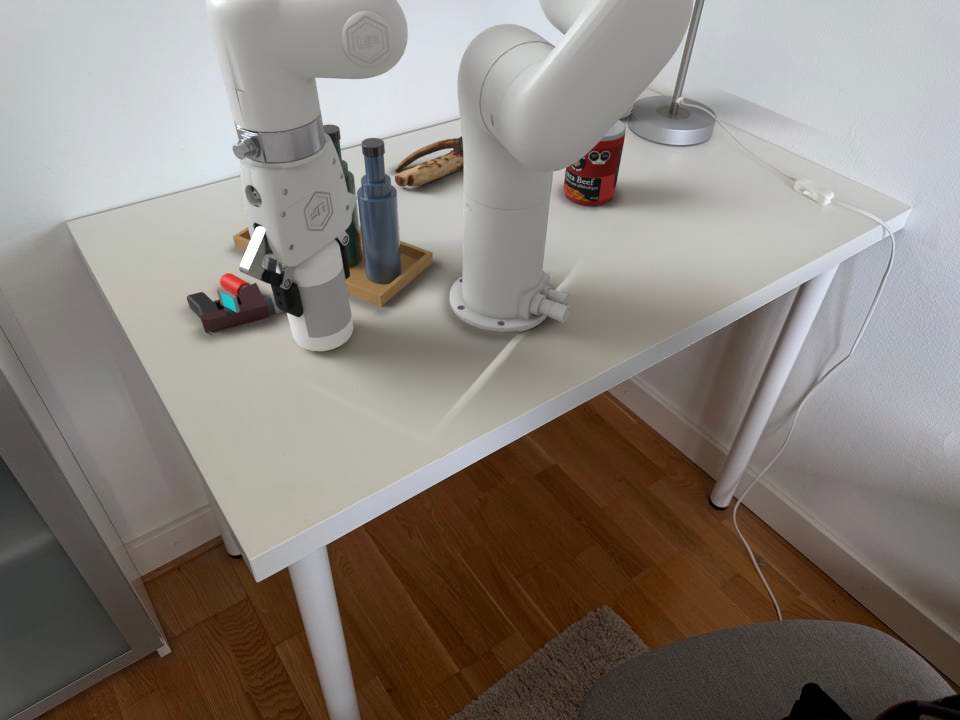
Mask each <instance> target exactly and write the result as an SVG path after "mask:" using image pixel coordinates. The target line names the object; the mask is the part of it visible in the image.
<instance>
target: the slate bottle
mask: <svg viewBox="0 0 960 720" xmlns="http://www.w3.org/2000/svg"><path fill="white" fill-rule="evenodd" d="M360 143H361V153H362V155H363V161H364V171H365V174H363V176H362V177H361V179H360V185H361V186H360V187H359V188H358V189H357V191H356V197H357V208H358V218H359V226H361V236H362V245H363V255H364V264H365V274H366V277H367V279H368V280H369V281H371V282H373V283H377V284H388V283H391V282H392V281H394V280H395V279H396V278H397V277H398V276H400V275H401V274H402V267H401V251H400V241H401V237H400V235H401V234H400V220H399V204H398V203H399V202H398V191H397V189H396V187H395V186H393V185H392V178H391V176H390V175H389V174H387V173H386V167H385V153H386V149H385V141H384V140H383V139H381V138H379V137H369V138H365V139H363V140H362V141H361V142H360Z"/></svg>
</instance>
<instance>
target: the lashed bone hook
mask: <svg viewBox="0 0 960 720" xmlns="http://www.w3.org/2000/svg"><path fill="white" fill-rule="evenodd" d="M449 149H453V150H451V151H449V152H448V153H446V154H444V155H440V156H437V157H435V158H432V159H429V160H427V161H424V162H422V163H420V164H418V165H416V166H414V167H412V168H407V167H408V166H409V165H411V164H412V163H414V162H415V161H417V160H419V159H421V158H423V157H426V156H428V155H431V154H433V153H436V152H439V151H443V150H449ZM405 168H407V169H405ZM461 168H464V159H463V139H462V135H461V136H460V137H453V138H446V139H442V140H438V141H435V142H432V143H430V144H428V145H425V146H422V147H420V148H419V149H416V150H415V151H413V152H412V153H410V154H409V155H408V156H406V157H405V158H404V159H403V160H401V162H400V163H399V164H398V165H397V166H396V168H395V169H394V172H395V173H397V174H395V175H394V182H395V184H396V185H397V186H398V187H401V188H403V187H406V186H408V187H419V186H421V185H424V184H428V183H429V182H432V181H434V180H437V179H440V178H443V177H444V176H447V175H449V174H452V173H454V172H456V171H458V170H460V169H461ZM404 169H405V170H404ZM402 170H403V171H402ZM398 172H399V173H398Z"/></svg>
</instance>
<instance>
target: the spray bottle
mask: <svg viewBox="0 0 960 720" xmlns="http://www.w3.org/2000/svg"><path fill="white" fill-rule="evenodd" d="M281 268H282V264H281V263H280V262H279V261H277V267H276V273H279V274H281ZM292 282H293V283H296V284H297V285H298V289H299V293H300V297H301V302H302V306H303V310H304V312H303V315H302V316H301V317H296V316H294V315H291V314H289V313H287V312H286V315H287V319H288V323H289V326H290V330H291V335H292V339H293V340H294V341H295V343H296V345H298V346H299V347H301V348H303V349H304V350H308V351H311V352H325V351H331V350H334V349H336V348H338V347H339V348H340V347H341V346H342V345H344V344H345V343H347V342H348V341H349V339H350V338H351V336H352V335H353V332H354V328H355V327H354V320H353V315H352V309H351V304H350V298H349V293H348V291H347V286H346V280H345V274H344V268H343V263H342V257H341V251H340V246H339V244H338V242H337V241H336V240H335V239H334V240H332V241H331V242H329V243H328V244H327V245H325V246H324V247H323V248H321V249H320V250H319V251H317V252H316V253H315V254H313V255H312V256H310V257H309V258H308V259H306V260H305V261H303V262H302V263H300V264H298V265H296V266H294V272H293V279H292Z"/></svg>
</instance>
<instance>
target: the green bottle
mask: <svg viewBox="0 0 960 720" xmlns="http://www.w3.org/2000/svg"><path fill="white" fill-rule="evenodd" d="M323 128H324V133H326V134H328V135H329V136H330V138H331V140H332V142H333V144H334V146H335V149H336V152H337V154H338V157H339V160H340V163H341V166H342V170H343V173H344V177H345V181H346V186H347V190H348V192H349V193H351V194H354V195H356V196H357V191H356V190H357V189H356V182H355V176H354V173H353V172H352V171H350V170H349V164H348V162H347V161H346V160H345V159H343V158H342V150H341V139H342V138H341V136H342V135H341V130H340V126H338V125H336V124H323ZM359 226H360V217H359V208H358V200H357V201H356V204H355V207H354V210H353V213H352V222H351V224H350V227H349V230H348V232H347V234H348V236H349V242H348V244H347V245H345V247H346V252H347V258H348V264H349V268H350V267H354V266H356V265H358V264H359V263H360V262H361V261H362V258H363V256H362V246H361V237H360V228H359Z"/></svg>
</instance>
